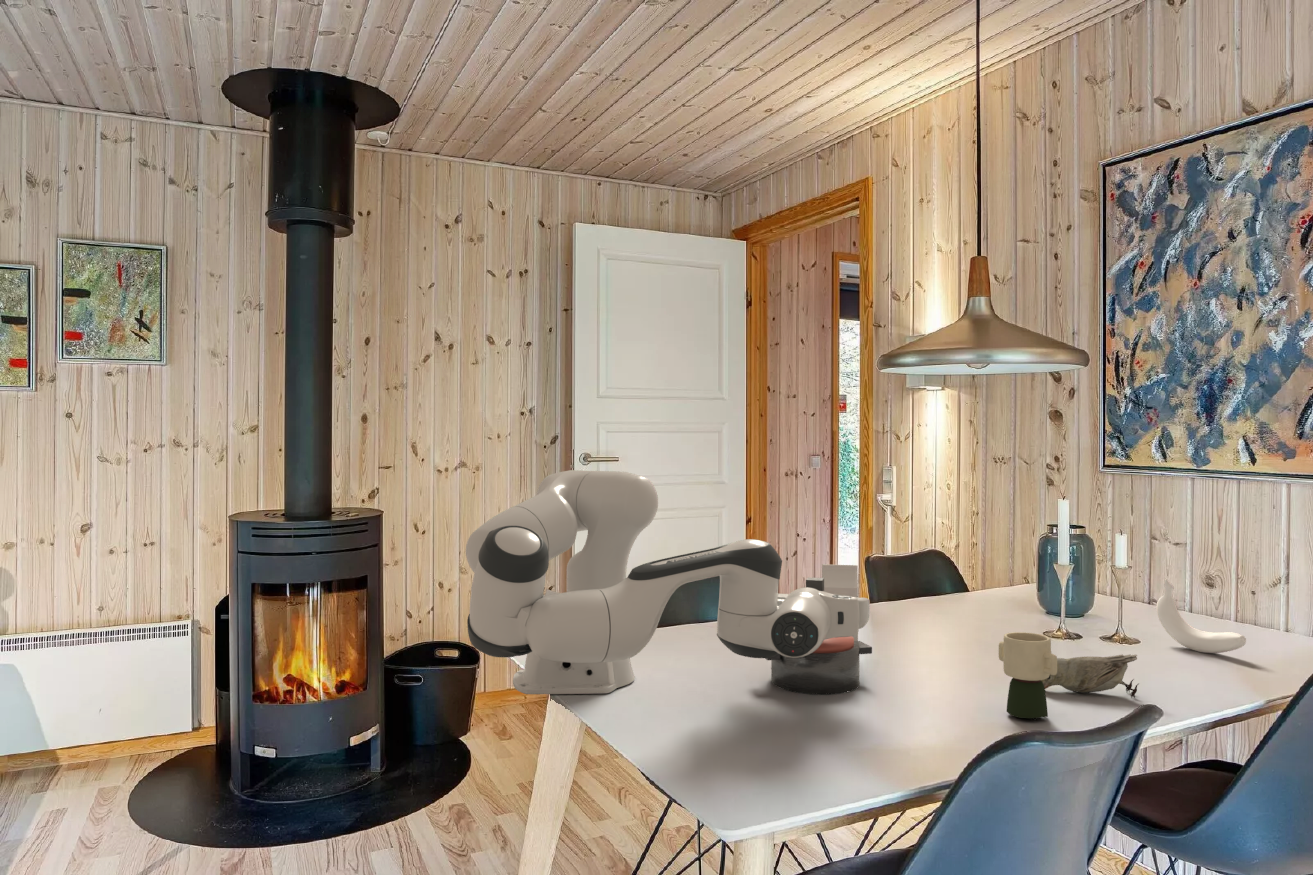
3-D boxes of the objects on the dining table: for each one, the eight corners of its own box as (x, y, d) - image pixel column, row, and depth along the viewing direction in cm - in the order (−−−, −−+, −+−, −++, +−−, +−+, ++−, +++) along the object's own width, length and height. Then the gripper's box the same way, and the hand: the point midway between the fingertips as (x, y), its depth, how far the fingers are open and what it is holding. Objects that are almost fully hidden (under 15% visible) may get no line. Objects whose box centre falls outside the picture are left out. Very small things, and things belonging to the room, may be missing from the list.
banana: (1242, 664, 175) (1242, 590, 175) (1149, 643, 192) (1150, 576, 192) (1256, 661, 177) (1256, 588, 177) (1163, 641, 194) (1163, 574, 194)
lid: (851, 655, 155) (850, 587, 154) (771, 650, 159) (771, 583, 158) (856, 637, 168) (856, 574, 168) (782, 633, 172) (782, 571, 172)
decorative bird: (1035, 687, 160) (1035, 646, 160) (1132, 693, 157) (1132, 651, 157) (1041, 696, 155) (1041, 653, 155) (1141, 702, 151) (1142, 658, 151)
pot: (779, 698, 153) (779, 658, 153) (748, 673, 169) (748, 637, 169) (886, 690, 158) (886, 650, 158) (846, 667, 174) (846, 631, 173)
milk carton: (858, 663, 177) (857, 568, 176) (821, 661, 178) (821, 567, 178) (857, 654, 184) (857, 562, 183) (822, 652, 185) (822, 561, 185)
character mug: (1071, 723, 140) (1071, 641, 140) (1041, 730, 136) (1041, 646, 136) (1014, 704, 149) (1014, 627, 149) (984, 711, 146) (984, 632, 146)
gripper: (746, 629, 154) (760, 613, 167) (866, 637, 148) (871, 620, 161) (746, 593, 154) (760, 580, 167) (866, 599, 148) (871, 585, 161)
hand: (815, 599), depth 164 cm, fingers open, 4 cm apart
